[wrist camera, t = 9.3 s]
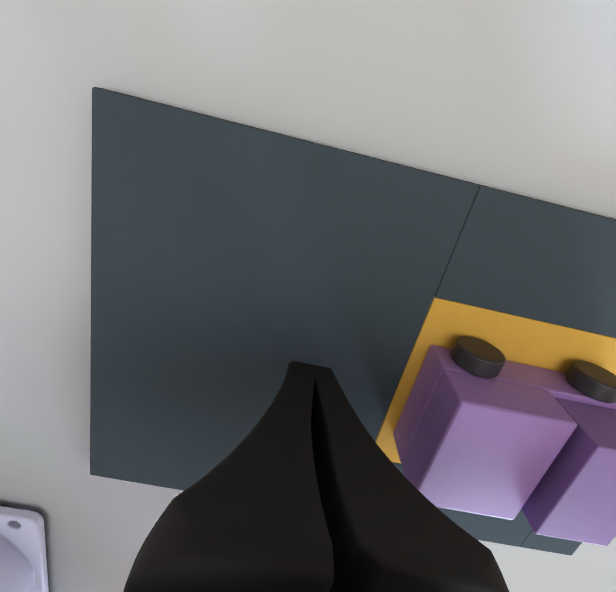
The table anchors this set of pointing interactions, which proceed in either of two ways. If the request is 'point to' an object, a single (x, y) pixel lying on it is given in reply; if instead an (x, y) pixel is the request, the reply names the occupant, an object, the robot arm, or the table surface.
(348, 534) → the robot arm
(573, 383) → the toy truck
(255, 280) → the play mat
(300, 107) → the table surface
